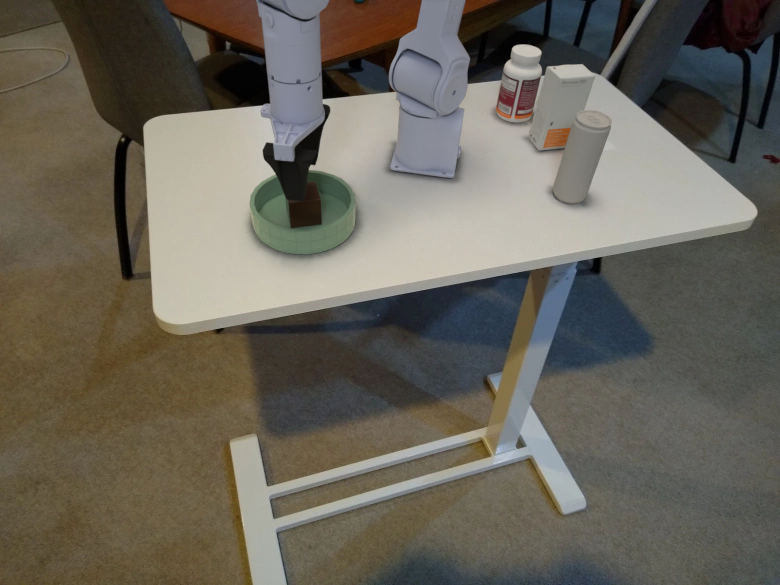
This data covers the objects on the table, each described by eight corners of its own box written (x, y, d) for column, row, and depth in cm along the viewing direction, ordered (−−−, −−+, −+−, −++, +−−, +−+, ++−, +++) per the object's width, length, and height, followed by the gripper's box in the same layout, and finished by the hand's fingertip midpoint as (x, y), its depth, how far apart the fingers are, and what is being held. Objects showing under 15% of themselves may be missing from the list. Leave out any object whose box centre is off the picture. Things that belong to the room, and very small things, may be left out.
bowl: (363, 198, 79) (364, 176, 76) (343, 261, 69) (343, 239, 67) (270, 185, 80) (268, 163, 77) (238, 245, 70) (234, 223, 68)
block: (316, 206, 76) (315, 180, 73) (321, 224, 73) (320, 199, 70) (286, 209, 75) (283, 184, 72) (290, 228, 72) (288, 202, 69)
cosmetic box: (538, 152, 90) (559, 78, 81) (527, 138, 92) (545, 65, 84) (573, 148, 91) (596, 75, 82) (560, 134, 94) (582, 62, 85)
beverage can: (564, 208, 80) (590, 130, 71) (544, 189, 83) (567, 112, 74) (592, 201, 81) (621, 124, 72) (571, 182, 84) (597, 106, 76)
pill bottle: (531, 108, 100) (547, 45, 92) (531, 126, 95) (547, 60, 87) (495, 103, 100) (508, 40, 92) (493, 120, 96) (506, 55, 88)
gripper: (273, 41, 66) (282, 146, 75) (238, 100, 55) (254, 212, 65) (334, 47, 65) (336, 151, 75) (309, 107, 55) (315, 219, 65)
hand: (301, 180), depth 70 cm, fingers open, 7 cm apart
